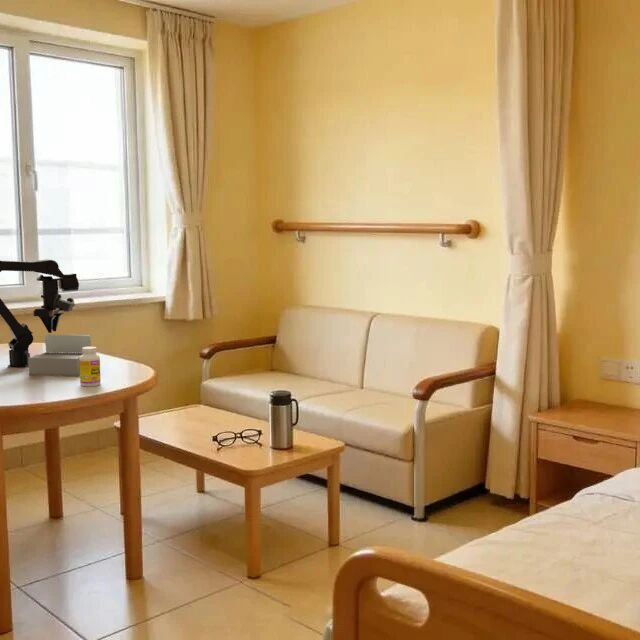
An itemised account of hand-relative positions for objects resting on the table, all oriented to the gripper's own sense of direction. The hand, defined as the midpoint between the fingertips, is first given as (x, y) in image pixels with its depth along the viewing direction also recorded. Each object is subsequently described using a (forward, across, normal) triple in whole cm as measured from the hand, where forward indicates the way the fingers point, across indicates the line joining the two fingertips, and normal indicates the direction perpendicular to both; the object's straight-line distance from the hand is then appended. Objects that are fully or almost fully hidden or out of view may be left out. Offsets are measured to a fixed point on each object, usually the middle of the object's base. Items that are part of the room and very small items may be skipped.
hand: (52, 332), depth 303 cm
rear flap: (+3, -11, -11) cm, 16 cm away
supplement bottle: (+12, -38, -30) cm, 50 cm away
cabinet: (+12, -18, -11) cm, 24 cm away
